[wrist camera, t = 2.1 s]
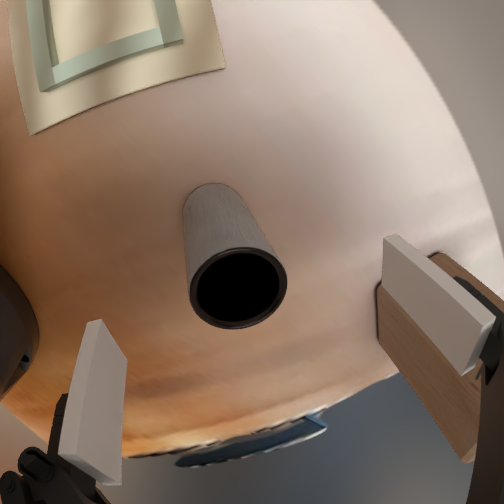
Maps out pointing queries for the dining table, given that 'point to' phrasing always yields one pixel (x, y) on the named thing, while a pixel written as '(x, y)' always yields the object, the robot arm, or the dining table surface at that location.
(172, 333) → the dining table surface
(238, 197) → the grey hollow tube
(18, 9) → the stand
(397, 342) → the block
